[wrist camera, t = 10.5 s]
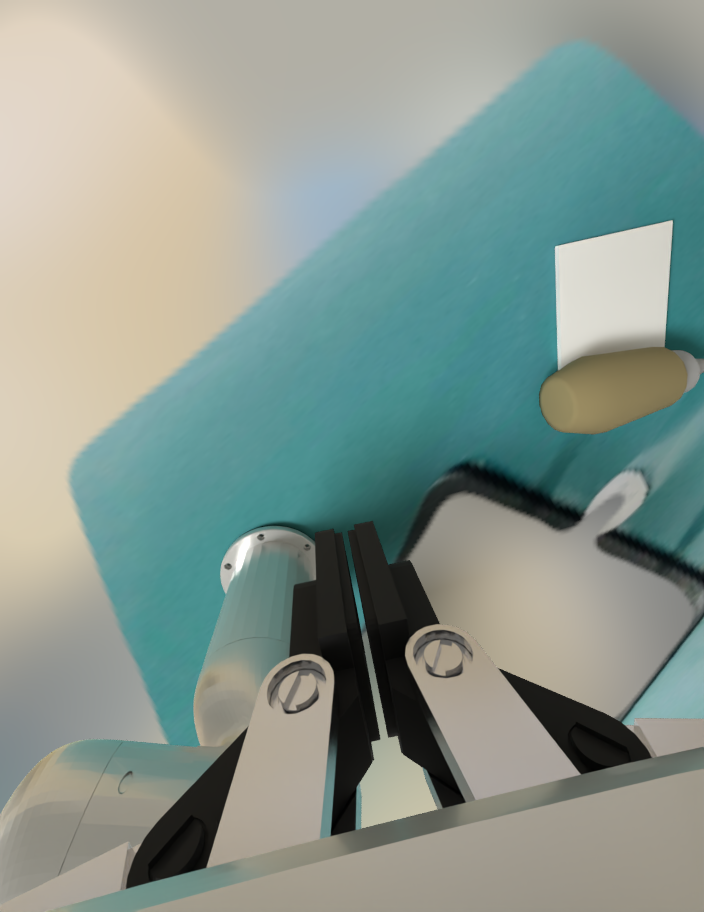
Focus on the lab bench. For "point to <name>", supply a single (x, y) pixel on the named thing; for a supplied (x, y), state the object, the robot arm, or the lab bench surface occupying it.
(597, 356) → the squeeze bottle
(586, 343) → the mat
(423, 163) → the lab bench surface
